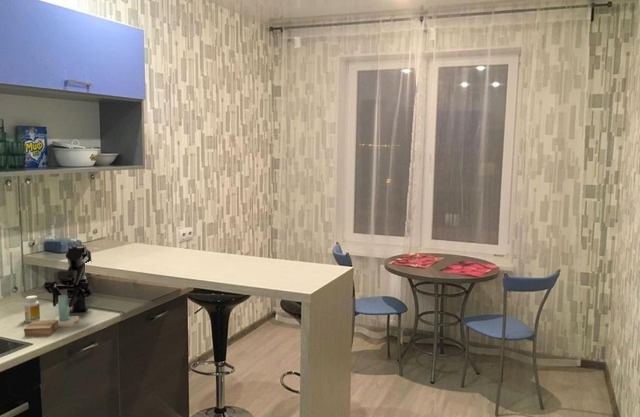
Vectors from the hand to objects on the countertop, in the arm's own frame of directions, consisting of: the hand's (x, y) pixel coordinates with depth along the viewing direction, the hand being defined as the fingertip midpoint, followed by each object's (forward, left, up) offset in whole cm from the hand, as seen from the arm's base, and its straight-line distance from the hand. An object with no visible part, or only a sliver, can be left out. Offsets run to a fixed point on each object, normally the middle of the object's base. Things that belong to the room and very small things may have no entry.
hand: (61, 306), depth 215 cm
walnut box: (+9, -5, -7) cm, 12 cm away
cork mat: (-1, 0, -7) cm, 7 cm away
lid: (-1, 0, -7) cm, 7 cm away
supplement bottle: (-6, -14, -7) cm, 17 cm away
